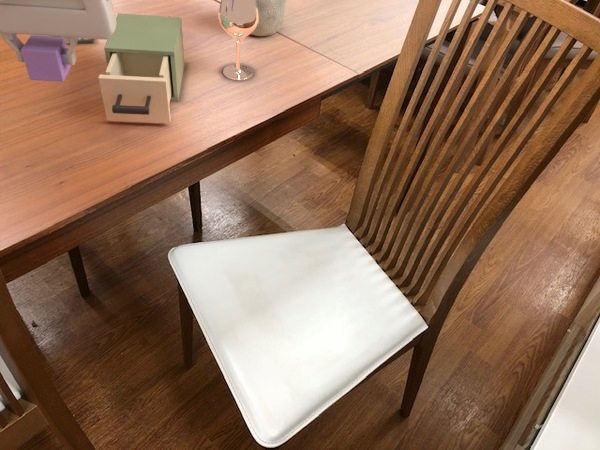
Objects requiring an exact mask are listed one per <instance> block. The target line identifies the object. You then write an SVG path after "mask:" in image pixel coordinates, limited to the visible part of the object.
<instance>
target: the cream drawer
mask: <svg viewBox="0 0 600 450" xmlns="http://www.w3.org/2000/svg"><path fill="white" fill-rule="evenodd" d="M97 79H98V84H99V88H100V89H99V90H100V93H101V98H102V104H103V108H104V112H105V117H106V121H107V122H125V123H126V122H127V123H147V124H149V123H151V124H171V120H172V119H171V118H172V117H171V109H170V105H171V104H170V103H171V101H170V99H171V94H172V89H173V80H172V69H171V58H170V55H156V54H139V53H122V52H113V54H112V56H111V59H110V61H109V64H108V66H106V69H105V74H99V75H98V77H97Z"/></svg>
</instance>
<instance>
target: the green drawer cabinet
mask: <svg viewBox="0 0 600 450" xmlns="http://www.w3.org/2000/svg"><path fill="white" fill-rule="evenodd" d="M115 17H116V23H117V25H116V29H115V31H114V33H113V34H112V36H111V37H110V38H109V39H106V42H105V45H104V47H103V50H104V55H105V60H106V65H107V66H106V67H108V64H109V61H110V59H111V56H112V54H113V52H122V53H139V54H156V55H170V58H171V69H172V80H173V89H172V94H171V99H170V102H179V99H180V93H181V87H182V82H183V77H184V70H185V64H186V63H185V52H184V51H185V49H184V48H185V47H184V36H183V35H184V33H183V21H182V17H179V16H166V15H165V16H164V15H152V14H151V15H149V14H137V13H136V14H135V13H120V12H118V13H117V15H116V16H115Z"/></svg>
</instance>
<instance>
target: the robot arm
mask: <svg viewBox="0 0 600 450" xmlns="http://www.w3.org/2000/svg"><path fill="white" fill-rule="evenodd" d="M113 5H114V4H113V2H112V0H0V35H1V38H2V41H4V42H5V44H6V45H8V46H9V47H10V48H11V49H12V50H13V51H14V52H15V54H16V57H17V61H18V62H19V63H25V62H24V59H23V55H22V52H21V49H22V48H23V46H24V45H25V43H24V42H22V40H21V39H20V38H19V37H18V35H30V36H31V35H40V36H59V37H64V39H65V43H67V44H66V45H69V46H68V47H67V48H63V50H62V52H61V54H60V55H61V59H62V63H63V64H64V65H71V66H75V64H76V63H77V56H76V52H75V49H76V47H77V45H78V44H77V42H78V40H79V38H90V39H93V40H105V41H107V39H109V38H110V37H111V36H112V34H113V33H114V31H115V29H116V25H117V23H116V17H117V16H116V12H115V8H114V6H113ZM69 43H70V44H69Z"/></svg>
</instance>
